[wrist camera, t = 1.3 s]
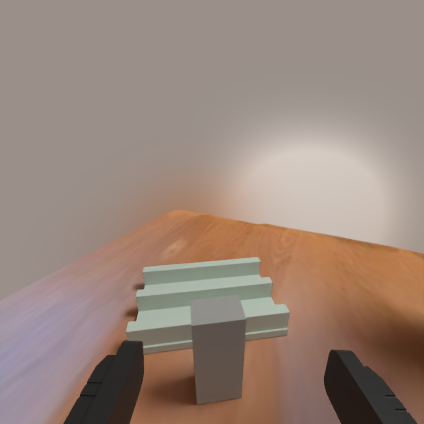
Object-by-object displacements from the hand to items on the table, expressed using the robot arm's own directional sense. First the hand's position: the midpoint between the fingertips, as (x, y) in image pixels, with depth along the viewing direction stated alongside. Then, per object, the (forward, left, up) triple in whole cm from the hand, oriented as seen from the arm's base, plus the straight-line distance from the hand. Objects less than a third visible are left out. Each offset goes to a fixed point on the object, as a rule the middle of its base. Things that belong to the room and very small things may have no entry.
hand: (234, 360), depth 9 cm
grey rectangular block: (-1, -9, -19) cm, 21 cm away
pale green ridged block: (-1, -21, -19) cm, 28 cm away
